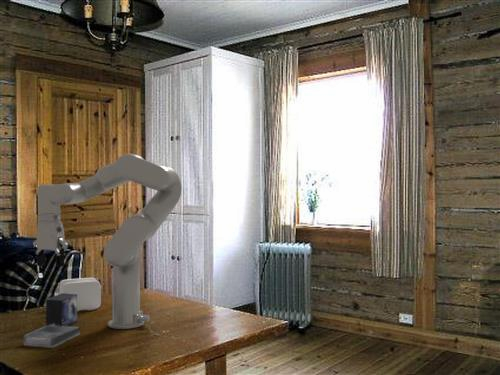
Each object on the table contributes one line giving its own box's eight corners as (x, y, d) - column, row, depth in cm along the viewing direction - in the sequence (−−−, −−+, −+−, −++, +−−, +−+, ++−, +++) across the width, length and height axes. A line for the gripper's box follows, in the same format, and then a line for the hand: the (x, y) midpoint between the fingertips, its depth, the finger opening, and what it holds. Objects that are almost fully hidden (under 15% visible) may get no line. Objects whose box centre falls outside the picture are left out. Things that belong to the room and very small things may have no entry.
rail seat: (79, 334, 170) (79, 324, 170) (53, 347, 156) (53, 337, 156) (52, 332, 172) (52, 322, 172) (23, 345, 158) (23, 335, 158)
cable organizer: (61, 313, 198) (61, 283, 198) (59, 307, 207) (59, 279, 207) (100, 309, 204) (100, 280, 204) (97, 303, 214) (96, 276, 214)
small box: (61, 330, 175) (61, 300, 175) (45, 329, 176) (44, 299, 176) (78, 322, 185) (78, 293, 185) (62, 321, 186) (61, 292, 186)
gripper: (74, 218, 182) (75, 265, 182) (41, 217, 191) (43, 263, 191) (57, 219, 176) (59, 268, 176) (24, 219, 184) (25, 266, 184)
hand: (50, 265), depth 183 cm, fingers open, 9 cm apart
